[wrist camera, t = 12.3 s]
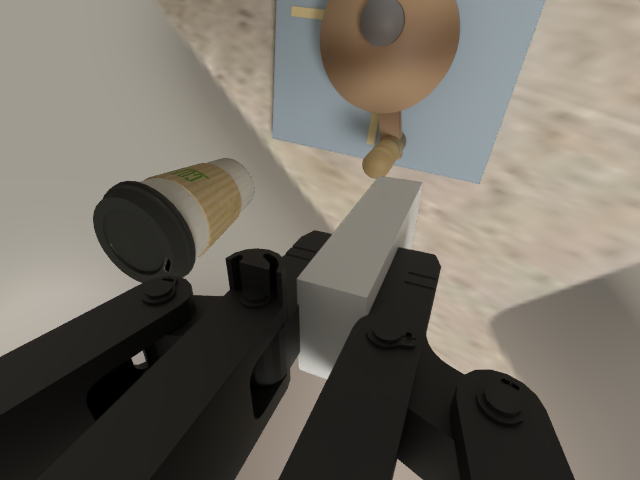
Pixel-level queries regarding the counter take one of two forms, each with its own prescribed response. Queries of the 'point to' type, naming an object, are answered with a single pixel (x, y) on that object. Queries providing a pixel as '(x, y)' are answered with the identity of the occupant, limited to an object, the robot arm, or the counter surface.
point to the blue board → (424, 117)
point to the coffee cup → (170, 217)
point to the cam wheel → (388, 61)
